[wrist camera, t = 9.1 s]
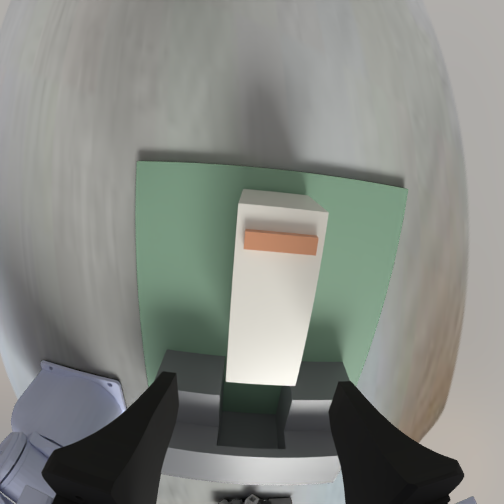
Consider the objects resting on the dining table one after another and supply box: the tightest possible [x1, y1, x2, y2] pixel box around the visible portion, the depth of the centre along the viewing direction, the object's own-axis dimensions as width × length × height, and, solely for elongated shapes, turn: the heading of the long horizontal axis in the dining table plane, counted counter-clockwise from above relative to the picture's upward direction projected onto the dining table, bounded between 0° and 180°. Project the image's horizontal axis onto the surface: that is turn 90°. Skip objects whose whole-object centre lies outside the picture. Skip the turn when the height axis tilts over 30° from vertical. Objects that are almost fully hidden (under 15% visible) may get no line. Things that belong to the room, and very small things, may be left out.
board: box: [136, 161, 408, 414], centre depth 22 cm, size 18×22×1 cm
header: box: [154, 349, 350, 485], centre depth 21 cm, size 14×8×8 cm, turn 85°
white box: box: [226, 189, 329, 386], centre depth 17 cm, size 4×10×6 cm, turn 175°
